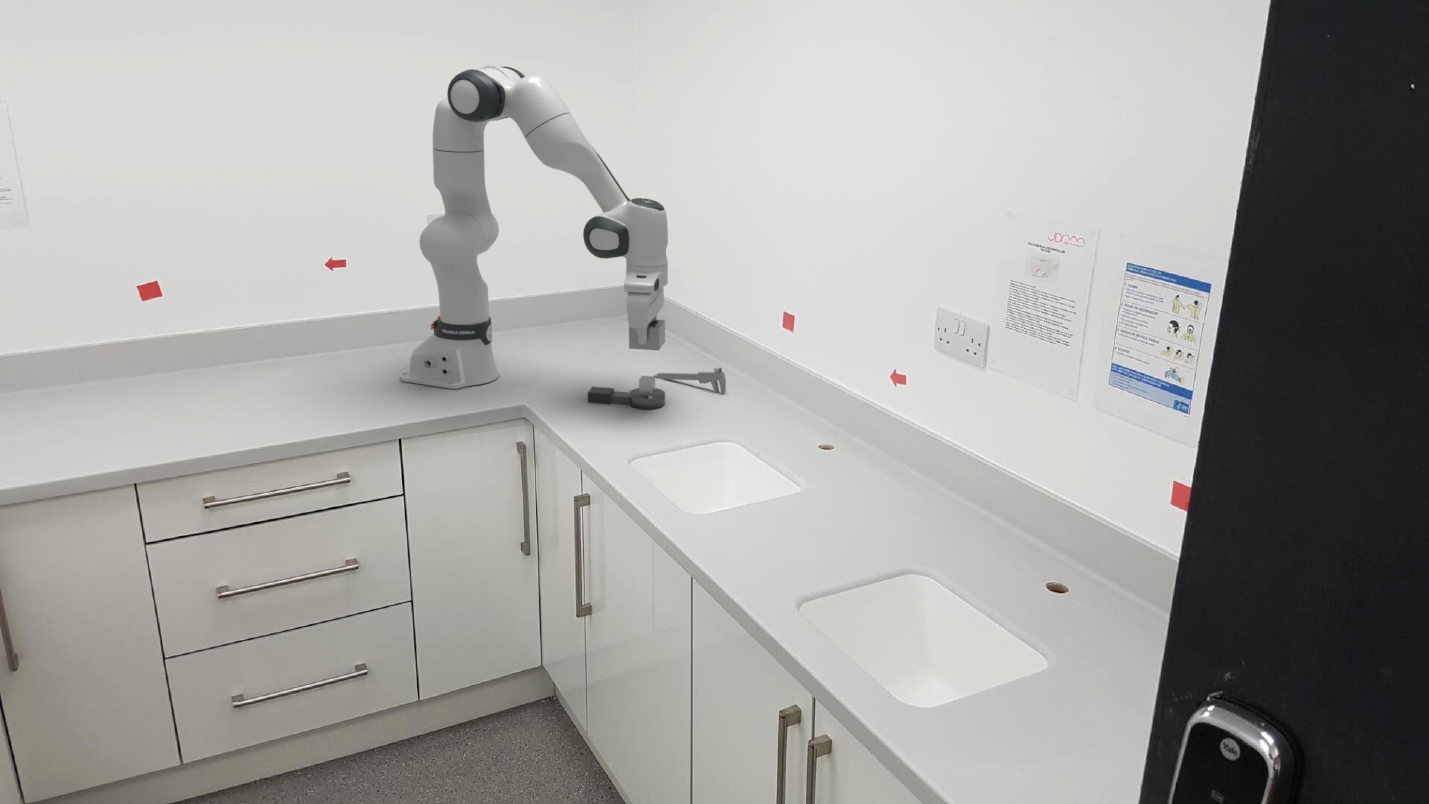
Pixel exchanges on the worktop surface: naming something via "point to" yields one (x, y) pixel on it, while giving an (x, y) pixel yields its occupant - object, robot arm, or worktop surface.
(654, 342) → the grey metal block
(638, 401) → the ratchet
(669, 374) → the caliper
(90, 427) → the worktop surface
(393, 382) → the worktop surface
